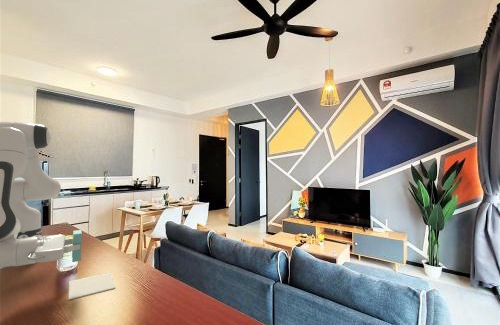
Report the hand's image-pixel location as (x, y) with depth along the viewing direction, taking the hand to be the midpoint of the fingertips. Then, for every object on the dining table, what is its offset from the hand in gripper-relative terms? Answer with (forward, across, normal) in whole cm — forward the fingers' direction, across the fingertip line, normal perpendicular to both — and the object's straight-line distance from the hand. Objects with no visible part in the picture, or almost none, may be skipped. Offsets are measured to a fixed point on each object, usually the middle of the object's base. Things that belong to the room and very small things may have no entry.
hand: (80, 243), depth 90 cm
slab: (-1, 0, +6) cm, 6 cm away
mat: (+4, -1, +16) cm, 17 cm away
